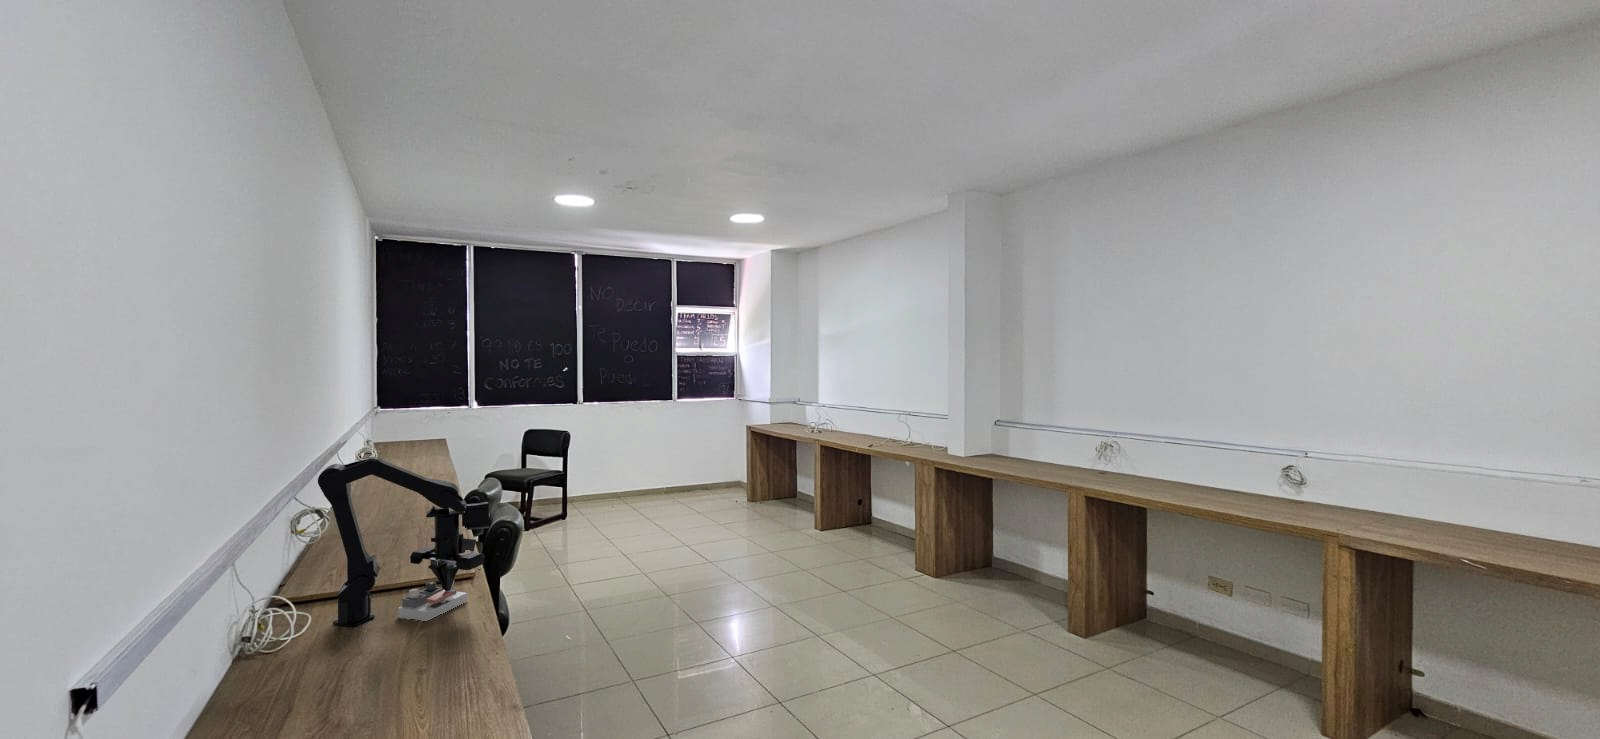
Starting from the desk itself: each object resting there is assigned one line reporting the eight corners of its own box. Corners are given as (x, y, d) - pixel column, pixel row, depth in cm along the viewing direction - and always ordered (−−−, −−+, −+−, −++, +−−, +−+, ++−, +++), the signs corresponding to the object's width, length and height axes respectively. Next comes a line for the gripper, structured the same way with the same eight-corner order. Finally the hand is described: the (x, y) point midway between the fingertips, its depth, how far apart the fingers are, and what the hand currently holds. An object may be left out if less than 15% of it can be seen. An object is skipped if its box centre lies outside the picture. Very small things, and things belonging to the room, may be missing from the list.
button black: (431, 592, 180) (431, 585, 180) (423, 591, 181) (423, 584, 181) (438, 589, 183) (438, 582, 183) (430, 588, 183) (430, 581, 183)
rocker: (435, 604, 175) (435, 599, 175) (426, 602, 176) (426, 598, 176) (453, 594, 181) (452, 590, 181) (444, 593, 181) (443, 589, 181)
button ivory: (414, 600, 175) (414, 592, 175) (406, 599, 176) (406, 591, 176) (421, 597, 177) (421, 589, 177) (414, 595, 178) (414, 588, 178)
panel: (427, 622, 172) (427, 598, 172) (398, 617, 174) (398, 594, 174) (468, 602, 186) (468, 580, 185) (440, 598, 188) (440, 576, 188)
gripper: (498, 526, 185) (498, 583, 186) (440, 520, 190) (441, 576, 191) (468, 538, 175) (469, 598, 175) (408, 531, 179) (409, 590, 180)
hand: (447, 590), depth 181 cm, fingers closed
